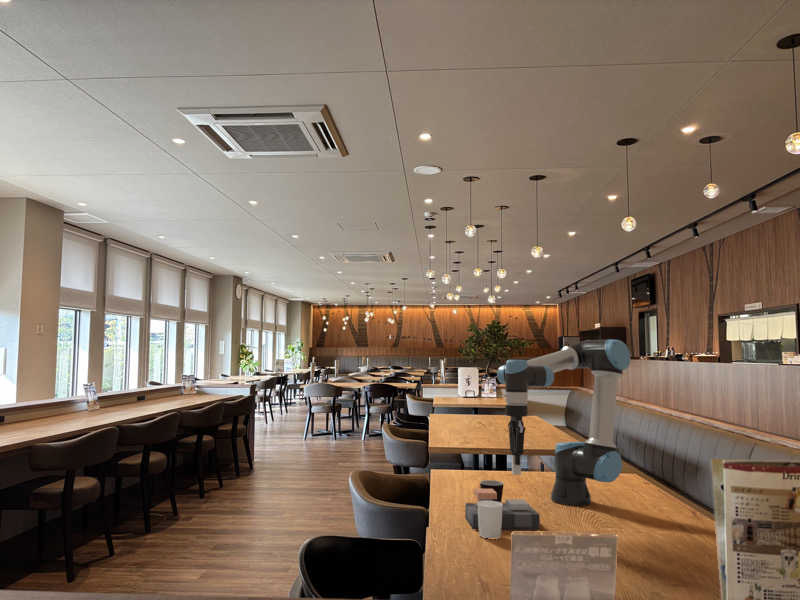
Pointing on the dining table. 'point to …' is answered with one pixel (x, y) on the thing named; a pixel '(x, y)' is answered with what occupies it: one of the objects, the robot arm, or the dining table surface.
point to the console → (507, 518)
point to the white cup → (490, 519)
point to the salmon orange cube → (485, 494)
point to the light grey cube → (517, 504)
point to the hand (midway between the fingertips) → (516, 474)
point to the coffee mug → (494, 485)
